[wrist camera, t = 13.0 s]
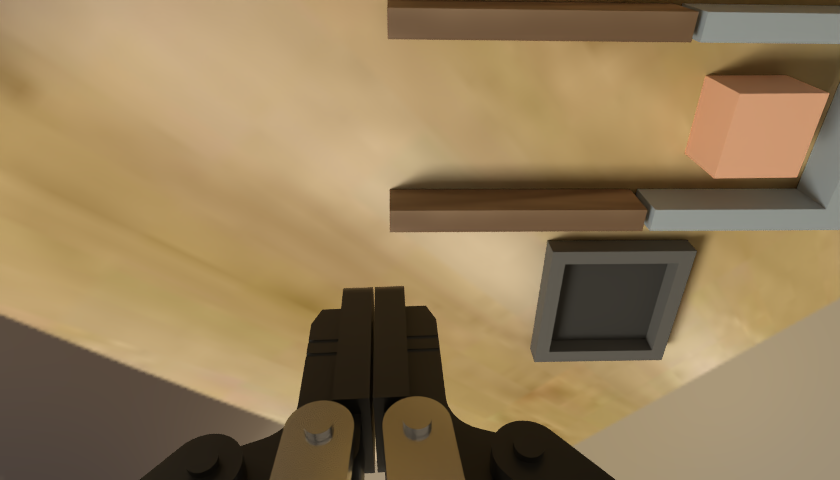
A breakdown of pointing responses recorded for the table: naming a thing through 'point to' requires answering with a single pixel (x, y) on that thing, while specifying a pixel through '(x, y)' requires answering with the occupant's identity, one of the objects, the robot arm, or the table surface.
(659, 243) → the dark gray tray
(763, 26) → the slate bay
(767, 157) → the terracotta block
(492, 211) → the wooden bars
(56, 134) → the table surface
